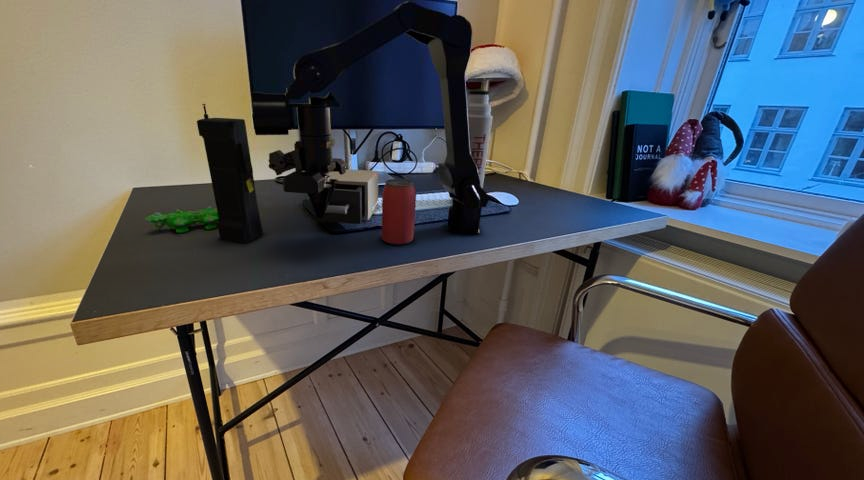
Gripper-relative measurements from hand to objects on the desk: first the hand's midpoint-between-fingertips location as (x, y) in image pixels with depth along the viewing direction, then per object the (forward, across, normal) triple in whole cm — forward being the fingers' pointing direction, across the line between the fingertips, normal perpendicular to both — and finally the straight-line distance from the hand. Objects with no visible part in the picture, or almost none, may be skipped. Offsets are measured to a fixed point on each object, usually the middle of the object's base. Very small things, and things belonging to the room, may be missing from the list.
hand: (320, 217), depth 73 cm
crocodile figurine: (+5, -1, -29) cm, 30 cm away
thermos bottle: (+5, -35, +30) cm, 46 cm away
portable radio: (+5, +2, -16) cm, 17 cm away
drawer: (+4, -12, +1) cm, 13 cm away
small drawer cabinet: (+5, -20, +1) cm, 21 cm away
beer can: (+5, -3, +15) cm, 16 cm away
